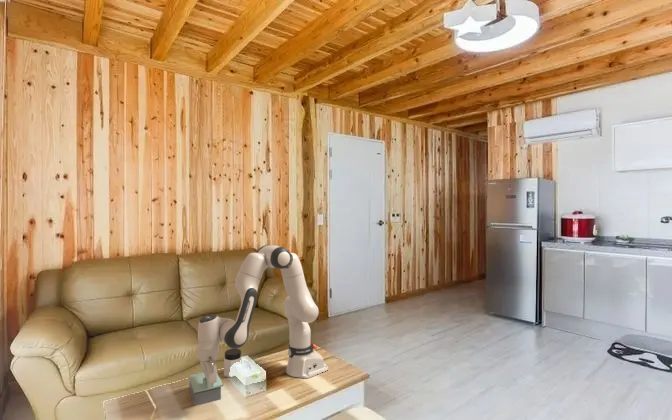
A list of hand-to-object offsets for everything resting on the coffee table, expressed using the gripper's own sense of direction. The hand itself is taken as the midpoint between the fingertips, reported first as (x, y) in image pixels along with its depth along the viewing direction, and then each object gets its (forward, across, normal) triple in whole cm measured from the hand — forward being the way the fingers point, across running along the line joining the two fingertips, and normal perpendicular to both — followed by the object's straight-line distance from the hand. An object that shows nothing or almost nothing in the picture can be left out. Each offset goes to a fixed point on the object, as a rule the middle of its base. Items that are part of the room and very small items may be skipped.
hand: (208, 384), depth 155 cm
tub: (+8, +6, 0) cm, 11 cm away
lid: (+2, +6, 0) cm, 7 cm away
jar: (+9, +20, -16) cm, 27 cm away
